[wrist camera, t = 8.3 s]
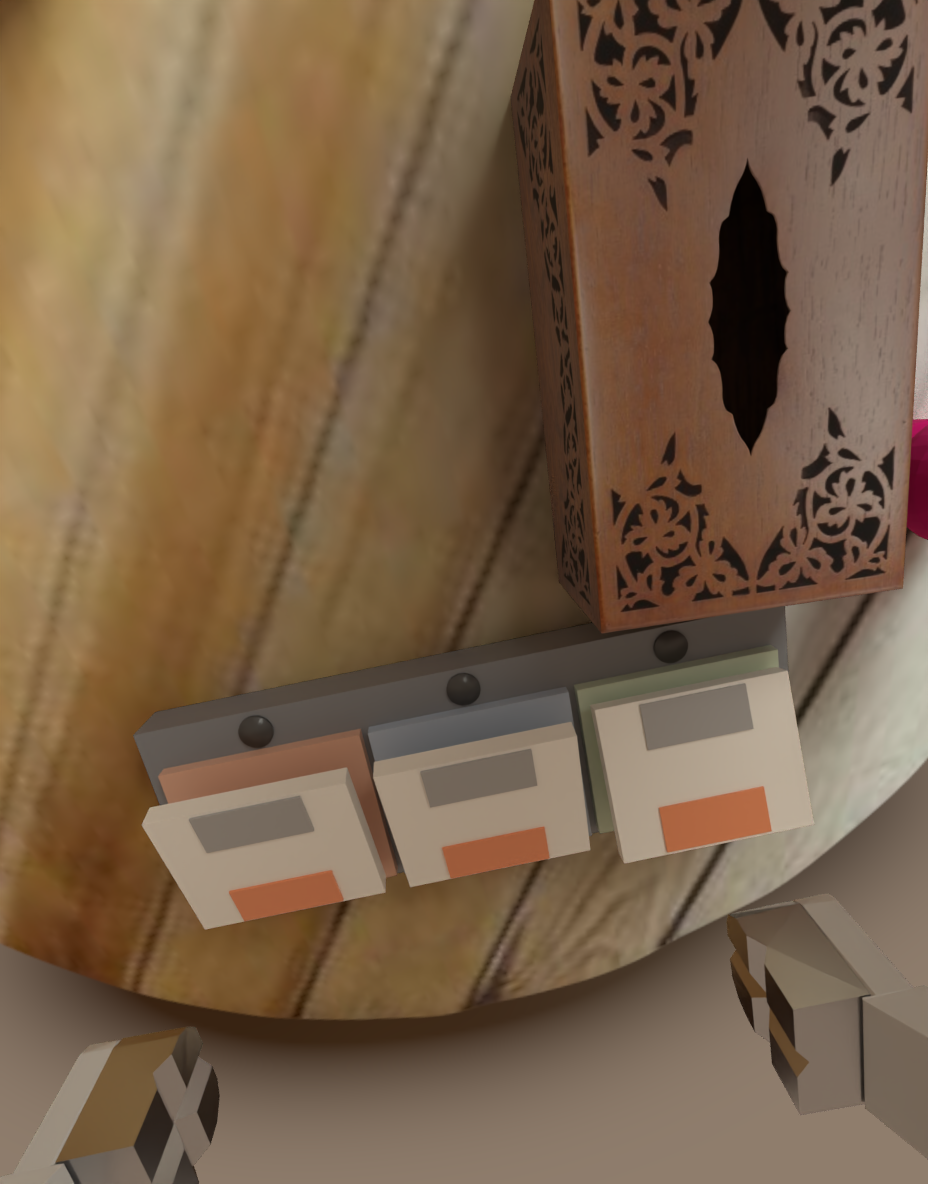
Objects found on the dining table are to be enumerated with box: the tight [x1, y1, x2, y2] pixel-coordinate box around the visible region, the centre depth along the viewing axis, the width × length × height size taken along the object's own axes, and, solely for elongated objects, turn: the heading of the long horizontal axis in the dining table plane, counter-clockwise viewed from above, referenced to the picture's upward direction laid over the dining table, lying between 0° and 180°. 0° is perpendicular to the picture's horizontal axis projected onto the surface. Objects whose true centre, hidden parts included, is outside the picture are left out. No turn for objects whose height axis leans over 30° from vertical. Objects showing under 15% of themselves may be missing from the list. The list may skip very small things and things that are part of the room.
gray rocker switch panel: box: [133, 606, 789, 878], centre depth 39 cm, size 39×13×4 cm, turn 101°
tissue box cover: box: [511, 0, 928, 633], centre depth 30 cm, size 26×14×10 cm, turn 8°
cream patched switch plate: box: [142, 767, 386, 929], centre depth 35 cm, size 11×9×1 cm
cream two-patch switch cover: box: [590, 667, 814, 864], centre depth 35 cm, size 11×9×1 cm
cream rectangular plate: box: [373, 722, 590, 887], centre depth 35 cm, size 11×9×1 cm
